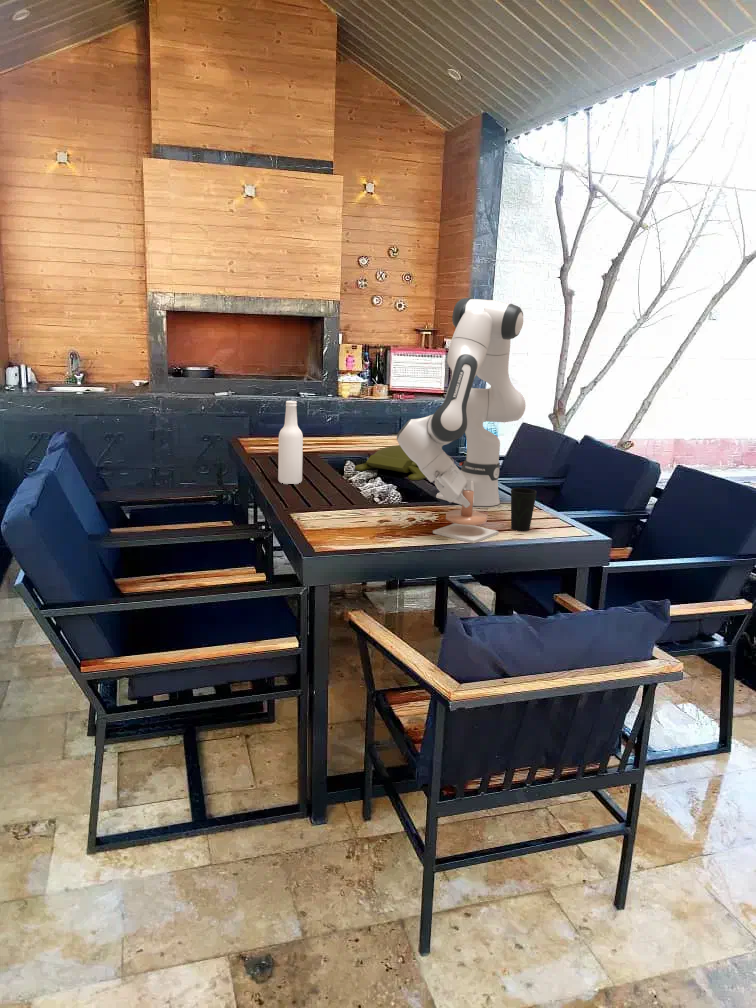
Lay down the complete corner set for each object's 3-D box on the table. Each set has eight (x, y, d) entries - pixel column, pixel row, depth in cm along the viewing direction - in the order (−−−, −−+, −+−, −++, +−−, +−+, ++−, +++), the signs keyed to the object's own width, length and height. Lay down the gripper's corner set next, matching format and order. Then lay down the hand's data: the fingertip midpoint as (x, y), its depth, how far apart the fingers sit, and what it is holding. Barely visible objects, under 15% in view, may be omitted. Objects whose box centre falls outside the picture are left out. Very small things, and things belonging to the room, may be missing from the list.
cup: (537, 531, 230) (541, 493, 227) (514, 532, 228) (518, 493, 225) (525, 525, 237) (529, 487, 234) (503, 525, 235) (506, 487, 232)
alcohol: (299, 479, 287) (300, 399, 280) (304, 484, 279) (305, 402, 272) (276, 480, 285) (277, 399, 278) (280, 485, 277) (281, 402, 270)
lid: (437, 519, 223) (439, 490, 221) (459, 511, 232) (461, 484, 230) (473, 527, 216) (475, 498, 214) (494, 519, 225) (496, 491, 223)
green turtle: (416, 482, 293) (417, 457, 291) (351, 471, 310) (352, 447, 307) (459, 469, 321) (461, 446, 319) (398, 459, 338) (399, 438, 336)
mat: (432, 533, 223) (432, 530, 223) (458, 524, 234) (458, 522, 234) (473, 543, 215) (473, 540, 215) (498, 533, 226) (498, 531, 226)
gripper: (441, 468, 211) (473, 506, 212) (451, 455, 231) (481, 489, 231) (424, 482, 213) (456, 519, 214) (436, 468, 233) (465, 502, 233)
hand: (469, 504), depth 223 cm, fingers closed on lid, 3 cm apart
